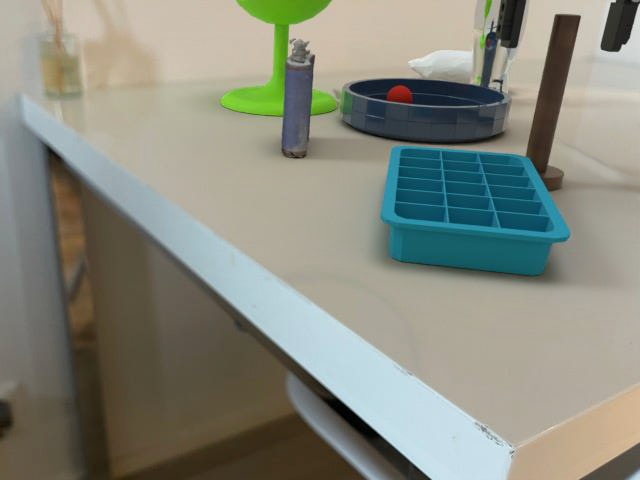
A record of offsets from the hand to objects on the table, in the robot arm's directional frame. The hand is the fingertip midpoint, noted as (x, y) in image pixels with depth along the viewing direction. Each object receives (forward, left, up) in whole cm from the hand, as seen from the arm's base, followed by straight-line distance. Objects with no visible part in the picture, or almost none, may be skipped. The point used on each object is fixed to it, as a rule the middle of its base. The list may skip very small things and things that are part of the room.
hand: (559, 49), depth 55 cm
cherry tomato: (+7, -28, -9) cm, 30 cm away
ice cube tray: (+9, +10, -12) cm, 18 cm away
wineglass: (+22, -34, -12) cm, 42 cm away
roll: (-5, -51, -12) cm, 53 cm away
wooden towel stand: (0, 0, -12) cm, 12 cm away
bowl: (+5, -23, -12) cm, 26 cm away
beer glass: (-8, -39, -12) cm, 42 cm away
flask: (+21, -11, -12) cm, 26 cm away
